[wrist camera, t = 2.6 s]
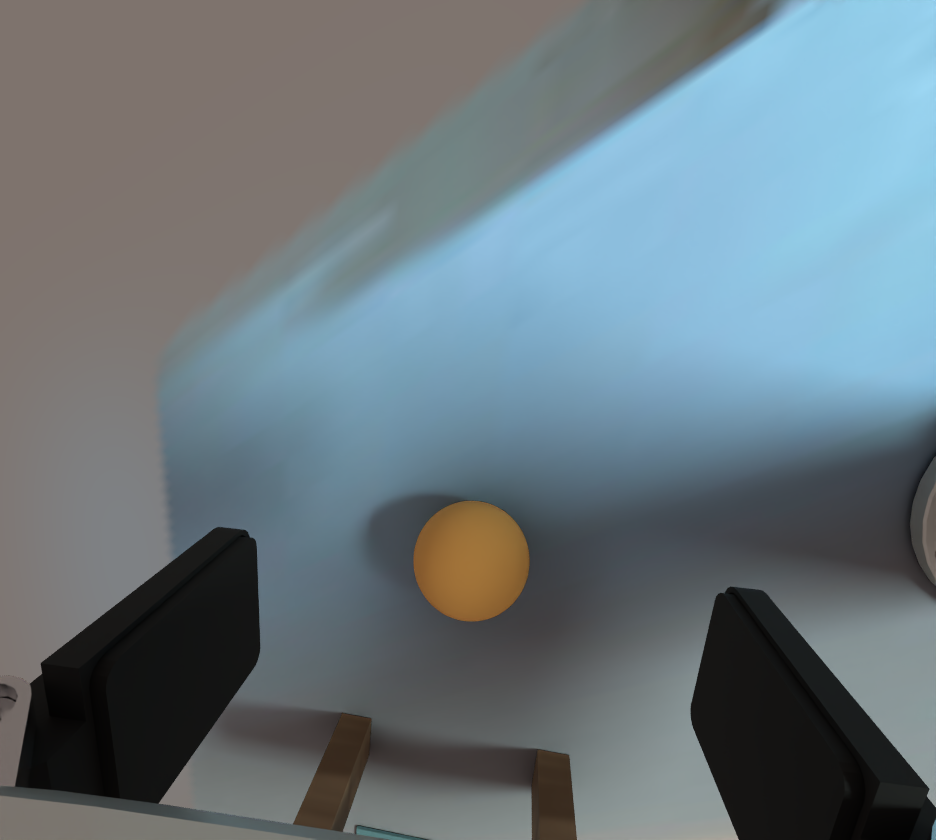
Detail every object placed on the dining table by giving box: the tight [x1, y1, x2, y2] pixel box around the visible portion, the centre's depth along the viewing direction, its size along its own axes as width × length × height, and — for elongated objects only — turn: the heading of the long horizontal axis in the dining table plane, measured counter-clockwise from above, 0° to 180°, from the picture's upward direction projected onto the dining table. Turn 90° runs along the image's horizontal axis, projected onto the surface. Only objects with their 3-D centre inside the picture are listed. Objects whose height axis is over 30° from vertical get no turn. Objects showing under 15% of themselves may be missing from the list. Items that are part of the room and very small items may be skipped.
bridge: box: [293, 713, 577, 840], centre depth 28 cm, size 3×15×10 cm, turn 84°
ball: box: [414, 501, 530, 621], centre depth 26 cm, size 6×6×6 cm
